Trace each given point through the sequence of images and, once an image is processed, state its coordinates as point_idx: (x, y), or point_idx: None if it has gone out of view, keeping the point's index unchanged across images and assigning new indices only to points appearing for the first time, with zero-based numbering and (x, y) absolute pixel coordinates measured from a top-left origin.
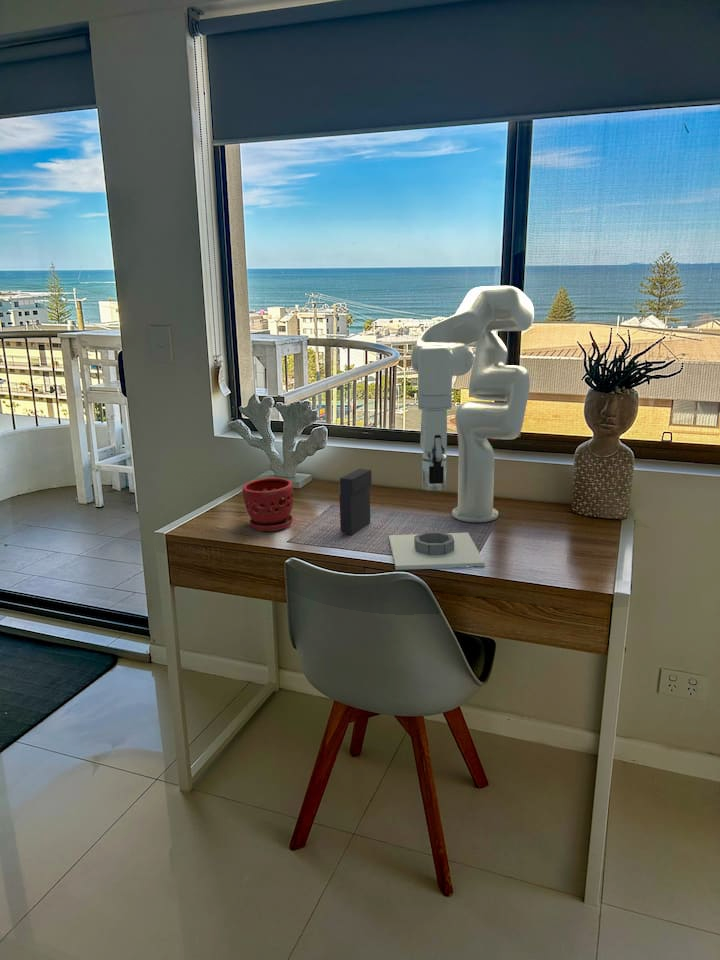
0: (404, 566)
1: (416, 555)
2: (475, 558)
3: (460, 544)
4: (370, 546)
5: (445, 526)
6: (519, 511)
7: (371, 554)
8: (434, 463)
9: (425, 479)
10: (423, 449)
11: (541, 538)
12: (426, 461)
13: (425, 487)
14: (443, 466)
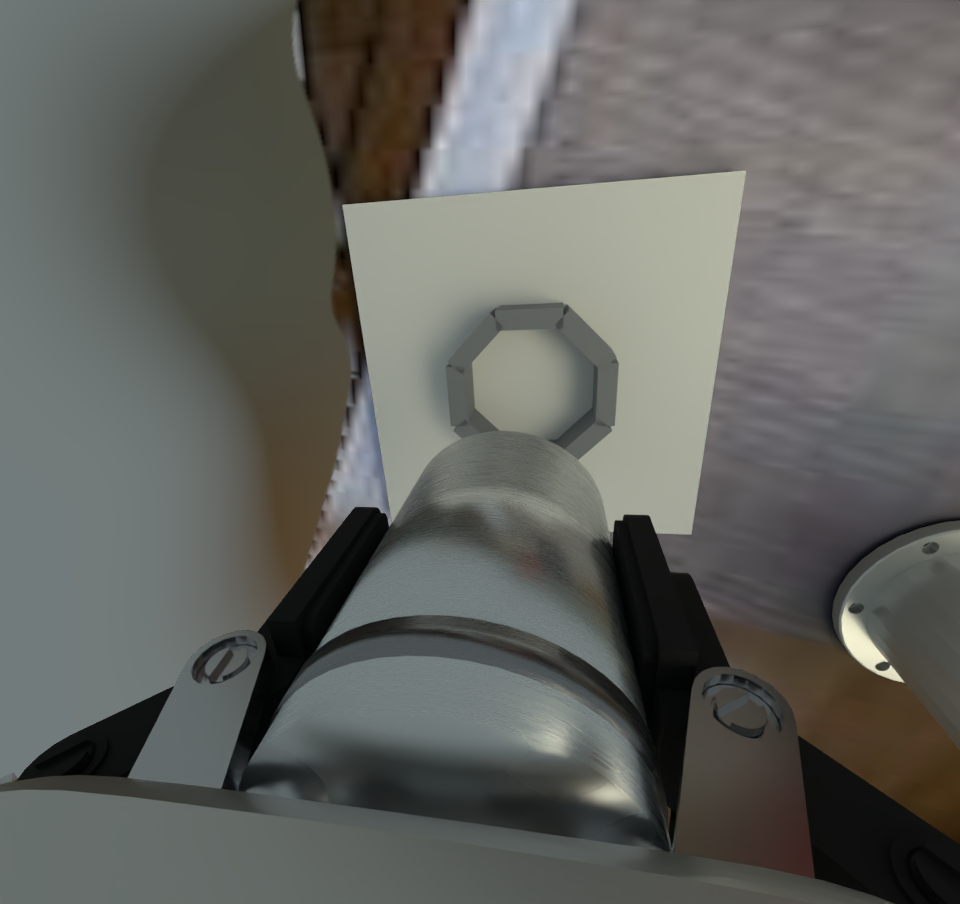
0: (350, 245)
1: (454, 303)
2: None
3: None
4: (646, 59)
5: (842, 466)
6: (920, 738)
7: (529, 73)
8: (131, 710)
9: (423, 489)
10: (93, 867)
11: None
12: (324, 646)
13: (438, 455)
14: None
